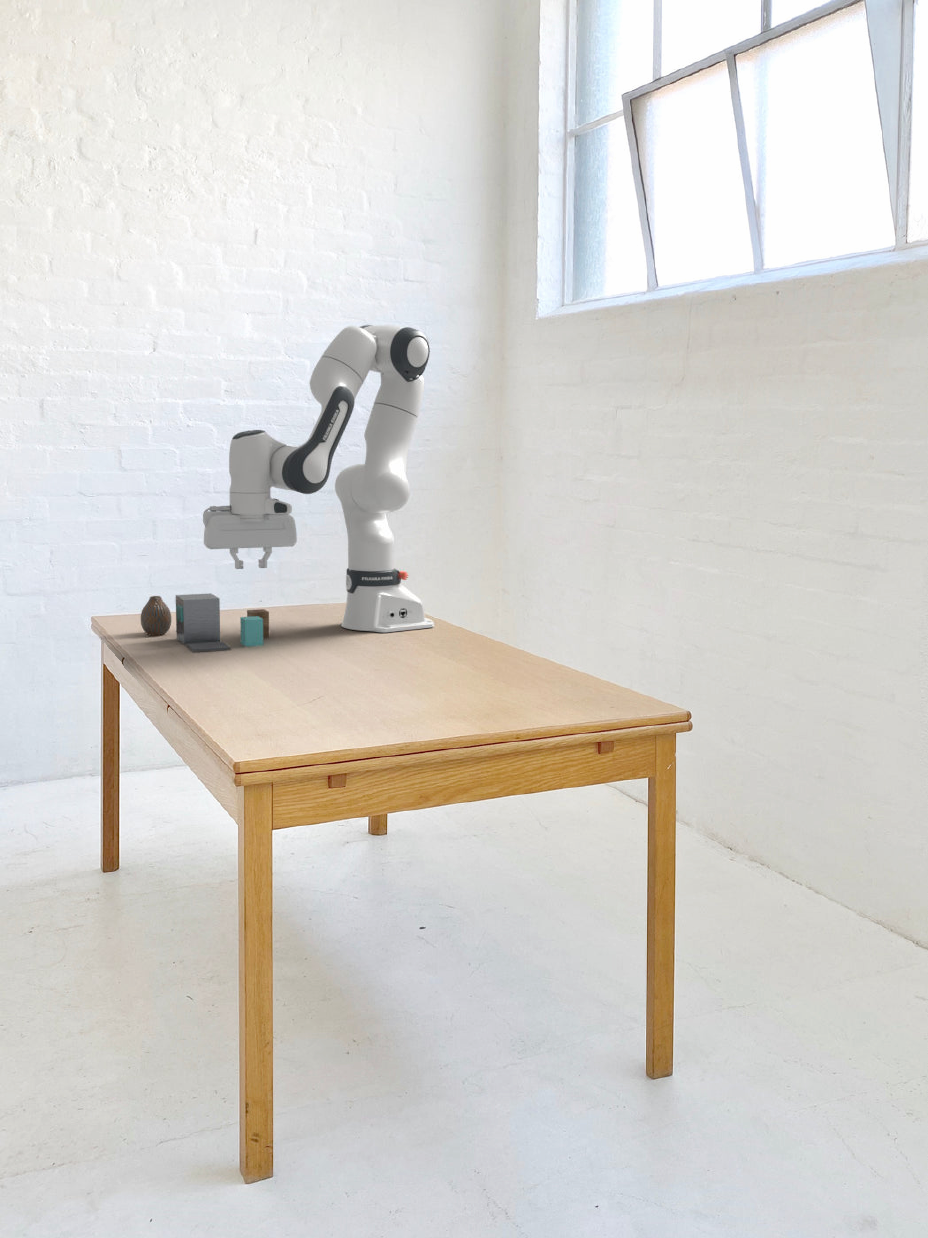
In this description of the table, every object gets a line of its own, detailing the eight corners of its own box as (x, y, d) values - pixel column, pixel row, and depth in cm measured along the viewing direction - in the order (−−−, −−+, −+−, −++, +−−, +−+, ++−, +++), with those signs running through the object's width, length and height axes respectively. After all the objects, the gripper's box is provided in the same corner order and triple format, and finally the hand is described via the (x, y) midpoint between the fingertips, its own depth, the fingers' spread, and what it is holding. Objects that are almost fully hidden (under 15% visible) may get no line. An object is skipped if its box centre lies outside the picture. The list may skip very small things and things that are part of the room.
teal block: (258, 642, 269) (257, 616, 268) (263, 645, 265) (262, 618, 264) (240, 643, 267) (240, 617, 266) (245, 646, 263) (245, 620, 262)
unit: (212, 636, 275) (211, 593, 273) (221, 642, 267) (220, 598, 266) (175, 638, 271) (174, 595, 269) (183, 645, 264) (182, 600, 262)
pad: (222, 644, 266) (222, 641, 266) (230, 649, 259) (230, 647, 259) (186, 646, 262) (186, 643, 262) (193, 652, 256) (193, 649, 256)
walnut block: (264, 634, 278) (263, 609, 277) (269, 637, 275) (268, 611, 274) (247, 635, 277) (247, 610, 276) (252, 638, 273) (251, 612, 272)
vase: (167, 637, 273) (166, 599, 272) (137, 636, 273) (136, 598, 272) (175, 631, 280) (174, 594, 278) (145, 631, 280) (144, 594, 278)
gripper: (206, 507, 254) (207, 571, 256) (298, 505, 262) (299, 568, 265) (199, 505, 259) (200, 568, 261) (290, 503, 268) (290, 564, 270)
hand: (251, 568), depth 263 cm, fingers open, 4 cm apart
